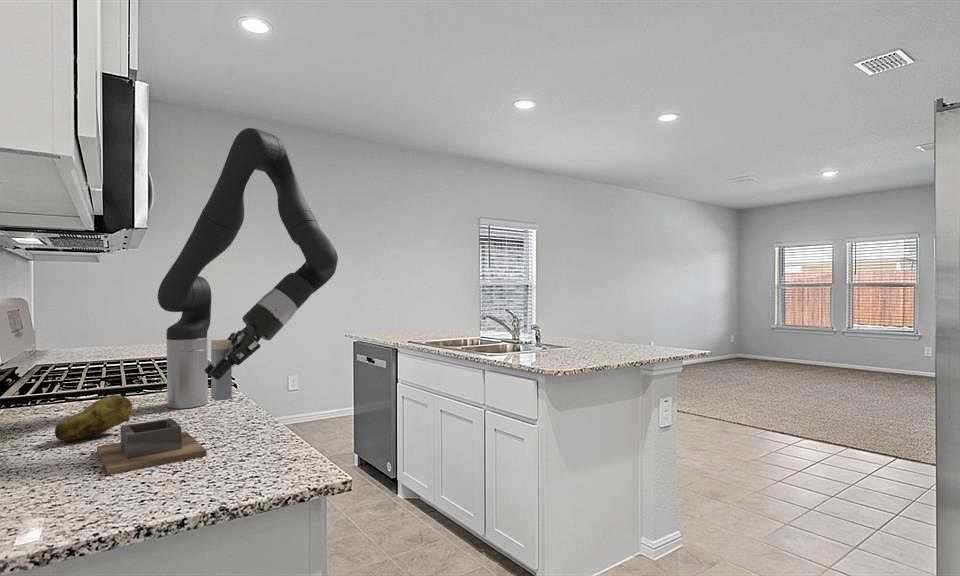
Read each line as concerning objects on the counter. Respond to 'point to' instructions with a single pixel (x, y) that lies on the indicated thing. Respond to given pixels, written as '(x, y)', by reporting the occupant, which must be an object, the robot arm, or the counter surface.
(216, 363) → the tall square pillar
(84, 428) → the potato
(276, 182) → the robot arm
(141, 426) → the well board
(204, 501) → the counter surface
